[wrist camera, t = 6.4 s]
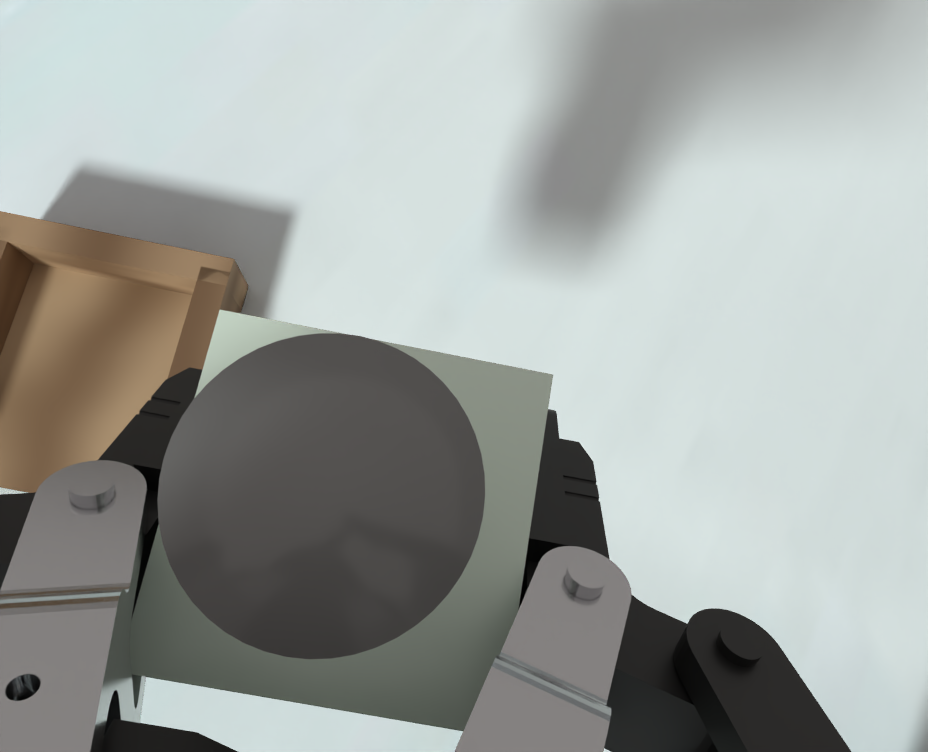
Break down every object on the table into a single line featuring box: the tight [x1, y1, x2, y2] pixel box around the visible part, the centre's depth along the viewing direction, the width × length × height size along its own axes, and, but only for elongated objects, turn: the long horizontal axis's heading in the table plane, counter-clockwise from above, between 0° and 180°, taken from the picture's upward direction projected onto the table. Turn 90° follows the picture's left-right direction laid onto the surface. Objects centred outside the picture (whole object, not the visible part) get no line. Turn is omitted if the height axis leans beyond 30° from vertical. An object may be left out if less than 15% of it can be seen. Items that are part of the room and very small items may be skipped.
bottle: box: [130, 310, 553, 731], centre depth 12 cm, size 5×5×12 cm
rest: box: [0, 211, 248, 493], centre depth 29 cm, size 10×11×3 cm
